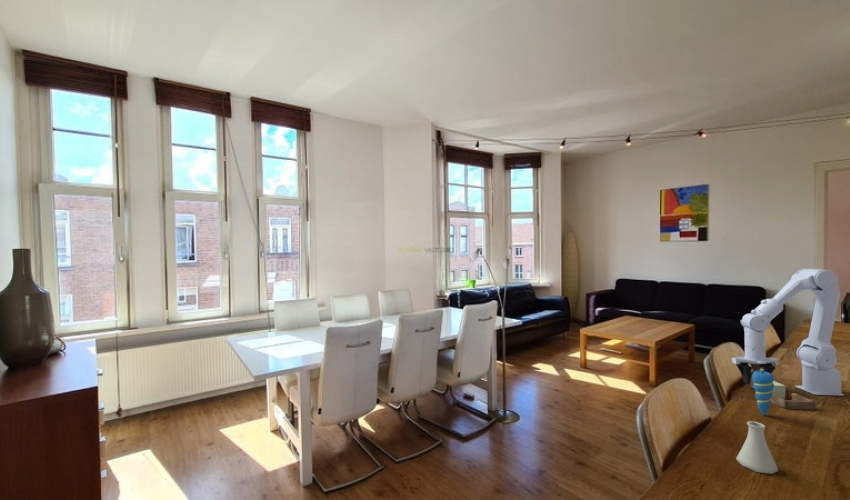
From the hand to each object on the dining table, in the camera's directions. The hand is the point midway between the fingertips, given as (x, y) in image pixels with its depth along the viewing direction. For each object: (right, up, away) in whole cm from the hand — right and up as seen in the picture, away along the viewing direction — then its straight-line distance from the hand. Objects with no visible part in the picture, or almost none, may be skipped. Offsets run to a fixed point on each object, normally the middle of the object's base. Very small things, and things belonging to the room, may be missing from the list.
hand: (755, 383), depth 139 cm
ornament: (-17, -2, -23) cm, 28 cm away
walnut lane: (-1, -2, -14) cm, 14 cm away
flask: (-43, -3, -49) cm, 65 cm away
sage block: (0, -2, -5) cm, 5 cm away
